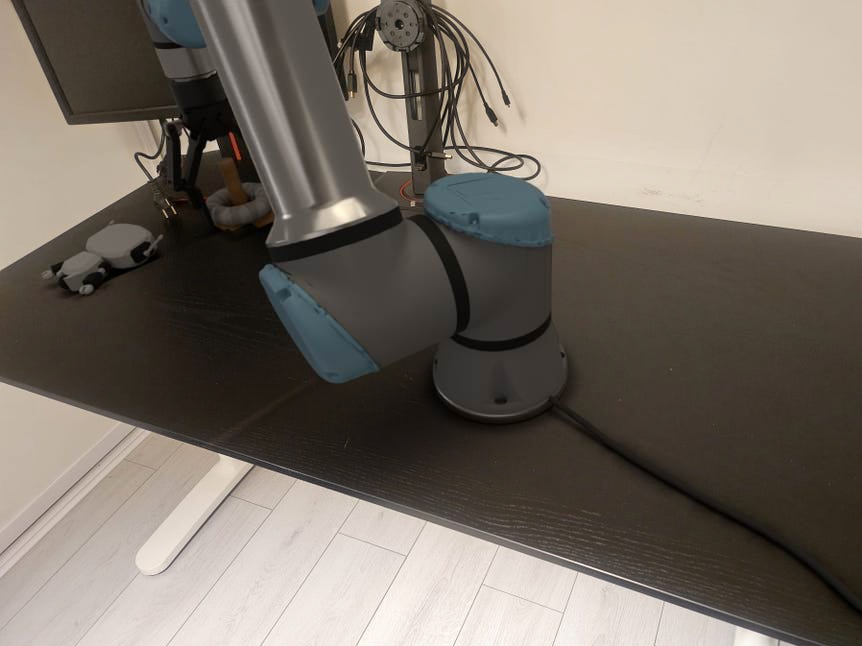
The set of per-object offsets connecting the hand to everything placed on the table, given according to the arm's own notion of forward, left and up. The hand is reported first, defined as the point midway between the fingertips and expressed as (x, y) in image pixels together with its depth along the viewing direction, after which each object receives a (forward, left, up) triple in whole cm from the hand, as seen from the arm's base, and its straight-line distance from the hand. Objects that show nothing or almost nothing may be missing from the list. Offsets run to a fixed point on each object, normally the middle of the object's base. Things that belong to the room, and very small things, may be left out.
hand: (243, 210), depth 103 cm
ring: (0, 0, +1) cm, 1 cm away
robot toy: (+2, +22, -2) cm, 22 cm away
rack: (0, 0, -2) cm, 2 cm away
